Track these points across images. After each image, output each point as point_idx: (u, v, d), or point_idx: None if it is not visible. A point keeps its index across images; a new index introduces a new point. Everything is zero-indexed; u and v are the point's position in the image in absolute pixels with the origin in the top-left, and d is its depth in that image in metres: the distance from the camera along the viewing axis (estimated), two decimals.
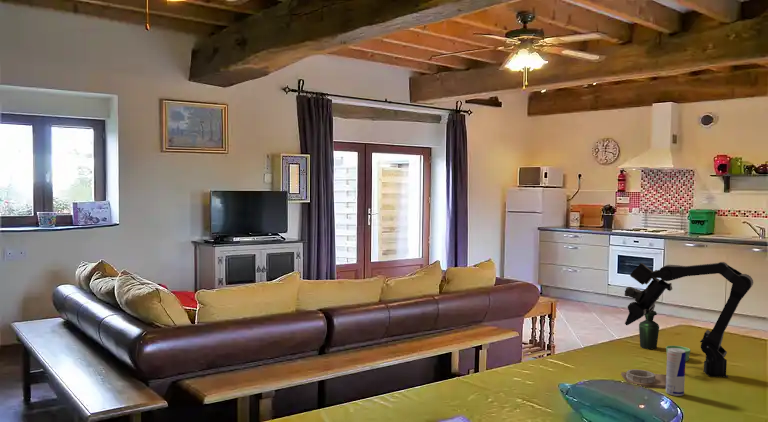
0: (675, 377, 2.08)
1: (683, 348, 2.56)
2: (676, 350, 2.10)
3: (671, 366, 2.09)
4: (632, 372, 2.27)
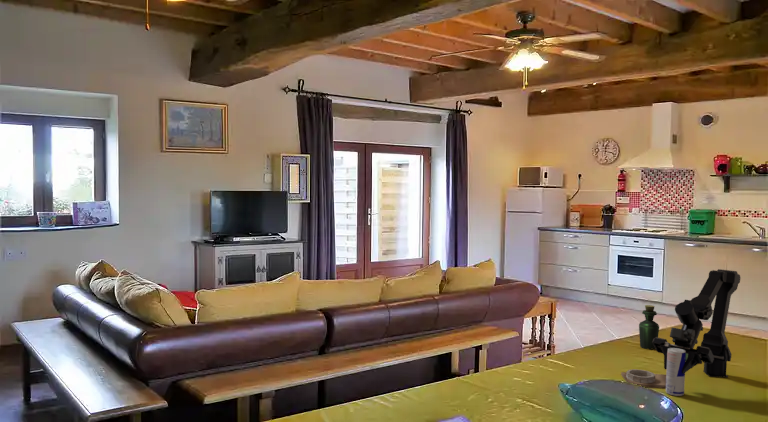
0: (675, 377, 2.08)
1: None
2: (676, 350, 2.10)
3: (672, 366, 2.09)
4: (632, 372, 2.27)
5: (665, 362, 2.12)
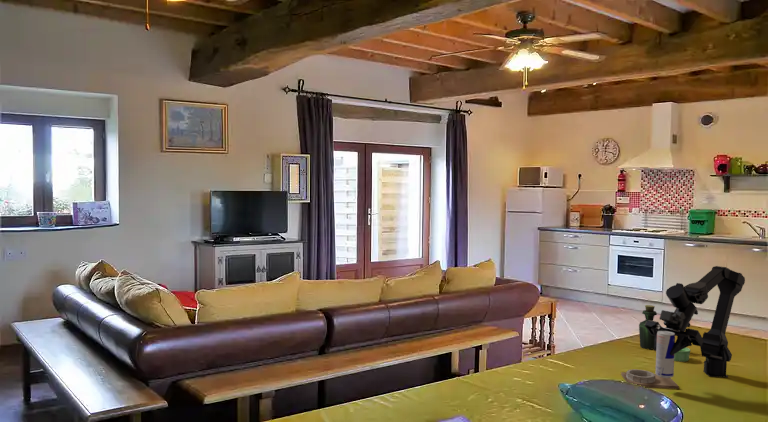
0: (664, 359, 2.11)
1: None
2: (665, 333, 2.13)
3: (660, 348, 2.12)
4: (632, 372, 2.27)
5: (655, 344, 2.16)
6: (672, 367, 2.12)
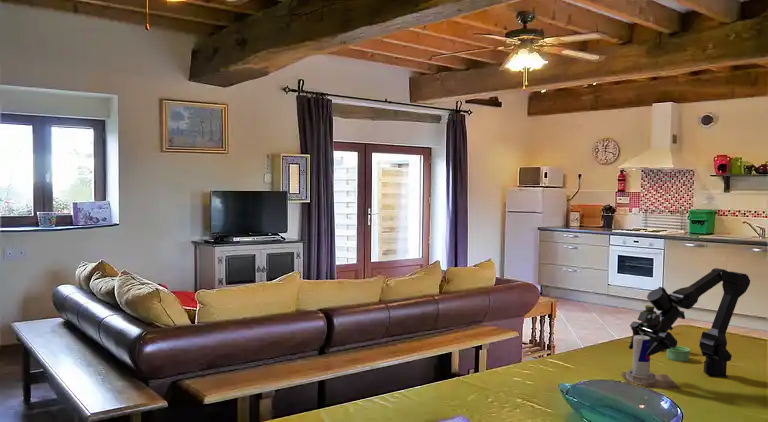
0: (637, 361, 2.21)
1: (683, 348, 2.56)
2: (641, 337, 2.22)
3: (634, 351, 2.22)
4: None
5: (631, 342, 2.27)
6: (646, 370, 2.20)
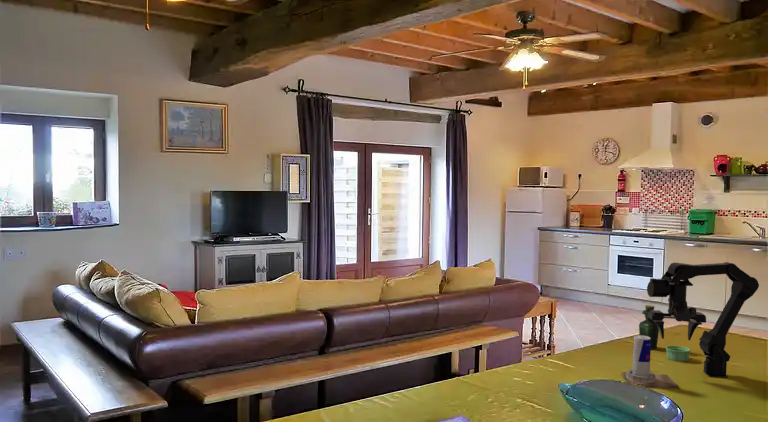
0: (637, 361, 2.21)
1: (683, 348, 2.56)
2: (641, 337, 2.22)
3: (634, 351, 2.22)
4: (632, 372, 2.27)
5: (663, 334, 2.32)
6: (646, 370, 2.20)
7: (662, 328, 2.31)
